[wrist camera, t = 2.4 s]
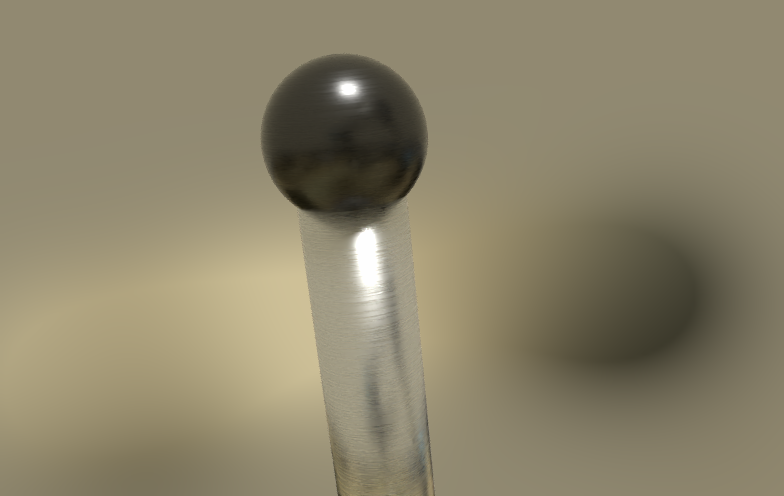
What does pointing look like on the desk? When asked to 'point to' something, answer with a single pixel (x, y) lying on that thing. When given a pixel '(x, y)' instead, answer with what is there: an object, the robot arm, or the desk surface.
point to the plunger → (358, 260)
